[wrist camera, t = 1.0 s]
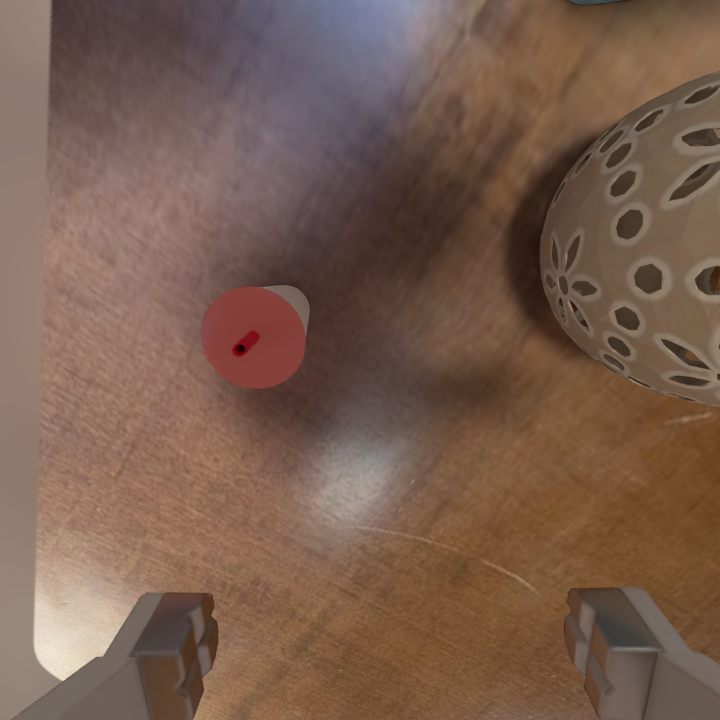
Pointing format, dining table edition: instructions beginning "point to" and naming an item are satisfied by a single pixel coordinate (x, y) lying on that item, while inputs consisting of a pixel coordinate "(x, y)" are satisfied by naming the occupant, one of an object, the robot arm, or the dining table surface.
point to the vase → (592, 1)
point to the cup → (256, 334)
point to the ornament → (644, 245)
